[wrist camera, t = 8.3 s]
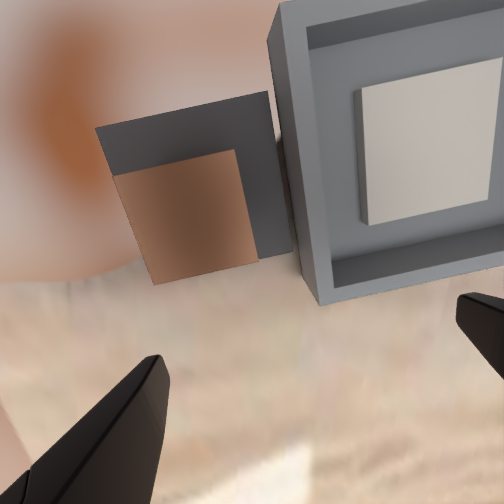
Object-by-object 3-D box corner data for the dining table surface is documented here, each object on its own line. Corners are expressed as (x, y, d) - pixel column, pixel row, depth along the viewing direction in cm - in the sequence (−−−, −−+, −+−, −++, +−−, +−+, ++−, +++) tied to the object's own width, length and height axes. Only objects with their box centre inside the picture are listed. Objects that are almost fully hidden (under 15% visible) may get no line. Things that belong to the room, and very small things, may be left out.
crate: (563, -25, 15) (673, -83, 11) (522, 229, 20) (588, 246, 17) (266, 40, 15) (279, 3, 11) (303, 277, 20) (319, 306, 17)
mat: (266, 92, 16) (267, 90, 15) (291, 248, 19) (293, 251, 19) (99, 129, 16) (94, 128, 15) (155, 279, 19) (153, 282, 19)
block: (231, 150, 16) (233, 149, 10) (247, 221, 18) (258, 261, 11) (158, 166, 16) (112, 176, 10) (181, 236, 18) (153, 285, 11)
